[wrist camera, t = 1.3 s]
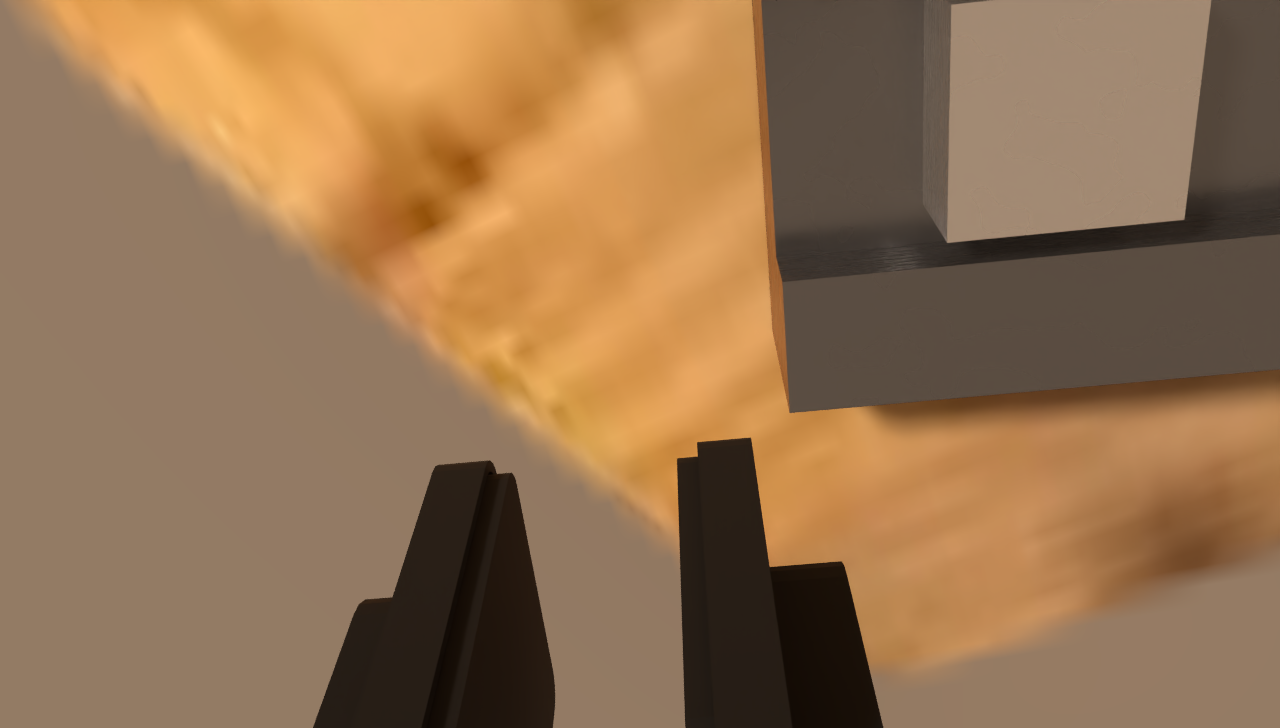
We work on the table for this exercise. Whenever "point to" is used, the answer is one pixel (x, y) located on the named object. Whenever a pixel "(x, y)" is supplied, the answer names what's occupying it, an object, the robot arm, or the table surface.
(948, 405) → the table surface
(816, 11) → the slotted ledge
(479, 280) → the table surface
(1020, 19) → the tan square block
